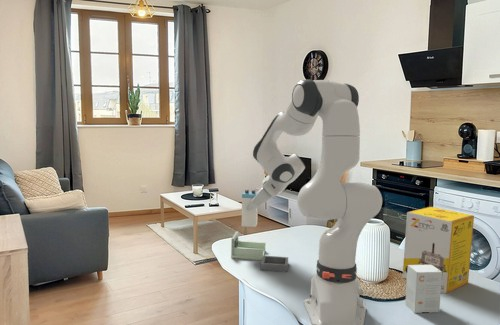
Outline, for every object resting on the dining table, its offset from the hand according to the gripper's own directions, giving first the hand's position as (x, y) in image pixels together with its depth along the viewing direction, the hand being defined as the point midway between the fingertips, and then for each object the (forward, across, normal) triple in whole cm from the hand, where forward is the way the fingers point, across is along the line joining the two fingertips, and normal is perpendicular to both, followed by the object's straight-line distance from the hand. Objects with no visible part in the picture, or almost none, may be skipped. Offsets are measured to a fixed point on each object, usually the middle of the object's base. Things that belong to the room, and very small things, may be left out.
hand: (248, 207), depth 170 cm
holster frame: (+5, +12, +23) cm, 27 cm away
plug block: (+5, 0, +6) cm, 7 cm away
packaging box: (-36, +14, +65) cm, 76 cm away
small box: (-29, +38, +57) cm, 74 cm away
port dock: (+14, 0, +15) cm, 20 cm away
